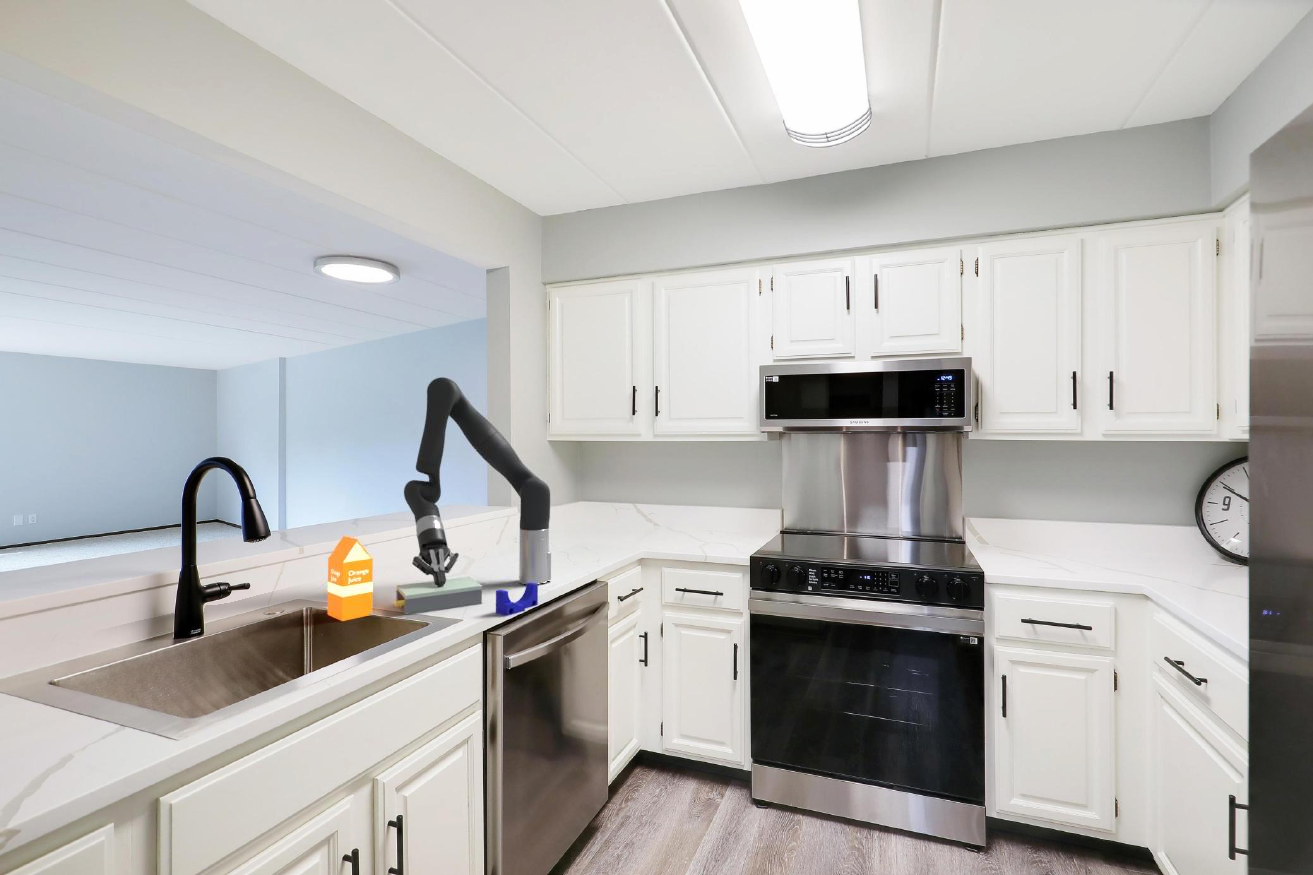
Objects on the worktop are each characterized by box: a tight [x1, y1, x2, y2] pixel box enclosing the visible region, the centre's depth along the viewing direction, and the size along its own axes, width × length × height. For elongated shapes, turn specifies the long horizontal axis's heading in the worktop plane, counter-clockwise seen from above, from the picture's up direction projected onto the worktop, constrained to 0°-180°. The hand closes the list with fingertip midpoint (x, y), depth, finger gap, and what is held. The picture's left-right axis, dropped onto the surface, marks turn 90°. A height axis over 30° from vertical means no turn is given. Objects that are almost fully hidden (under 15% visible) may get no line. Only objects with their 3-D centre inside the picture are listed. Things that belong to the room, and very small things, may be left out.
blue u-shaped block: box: [495, 582, 539, 617], centre depth 161 cm, size 12×4×6 cm, turn 144°
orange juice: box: [327, 535, 374, 622], centre depth 155 cm, size 8×9×20 cm
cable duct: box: [393, 588, 483, 614], centre depth 166 cm, size 23×12×4 cm, turn 124°
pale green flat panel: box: [396, 576, 483, 599], centre depth 166 cm, size 20×12×1 cm, turn 124°
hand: (441, 585), depth 164 cm, fingers closed
